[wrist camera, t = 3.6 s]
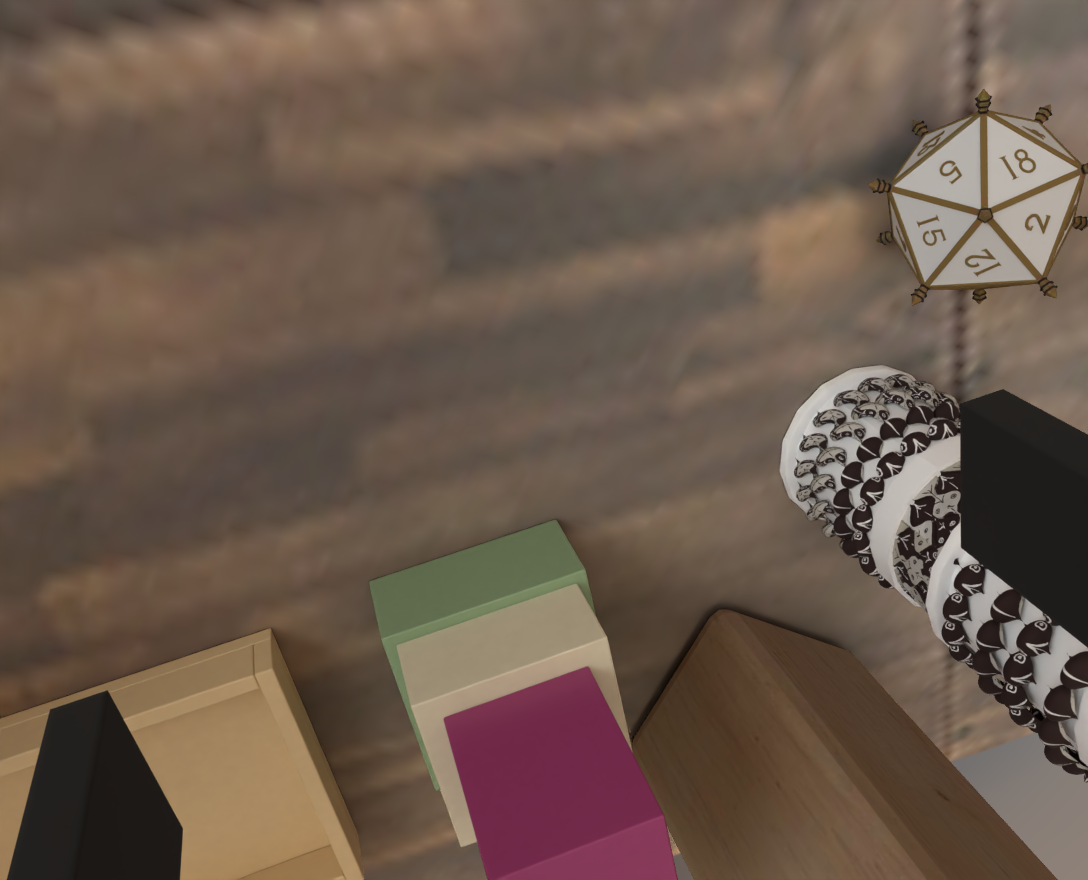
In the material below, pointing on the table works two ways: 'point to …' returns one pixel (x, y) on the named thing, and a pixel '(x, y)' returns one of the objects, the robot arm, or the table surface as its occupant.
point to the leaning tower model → (931, 542)
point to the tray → (216, 765)
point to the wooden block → (809, 770)
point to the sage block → (471, 591)
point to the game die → (984, 203)
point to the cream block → (500, 672)
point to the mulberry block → (557, 787)
